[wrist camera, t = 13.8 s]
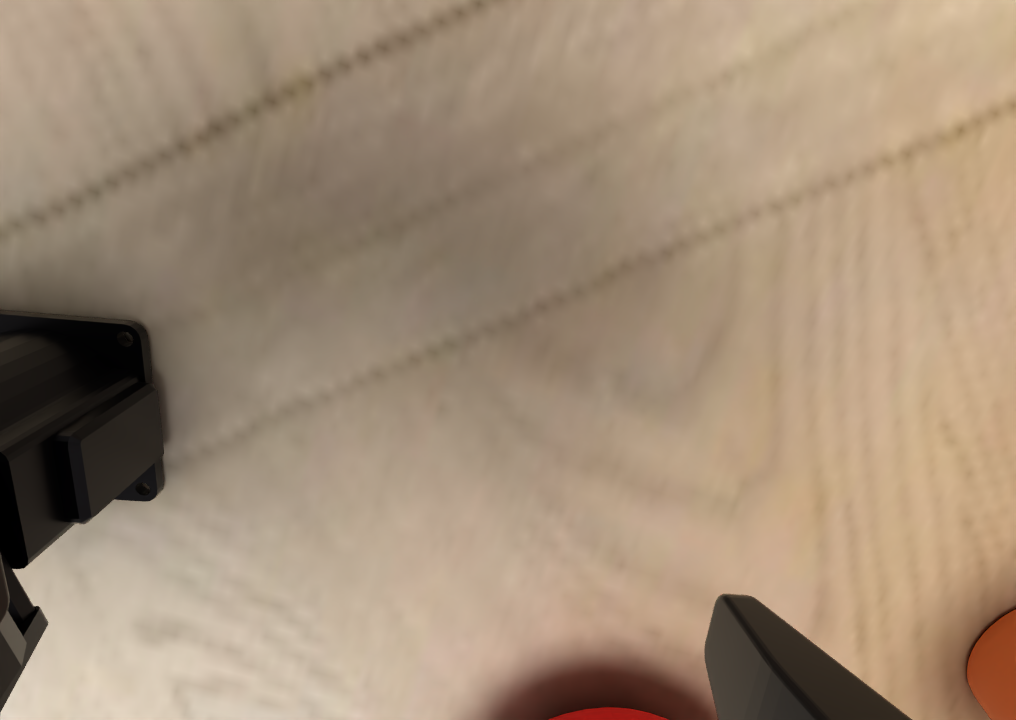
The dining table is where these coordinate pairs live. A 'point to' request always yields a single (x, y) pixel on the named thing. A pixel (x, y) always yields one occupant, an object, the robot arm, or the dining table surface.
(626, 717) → the tomato
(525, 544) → the dining table surface
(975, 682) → the cup with straw
